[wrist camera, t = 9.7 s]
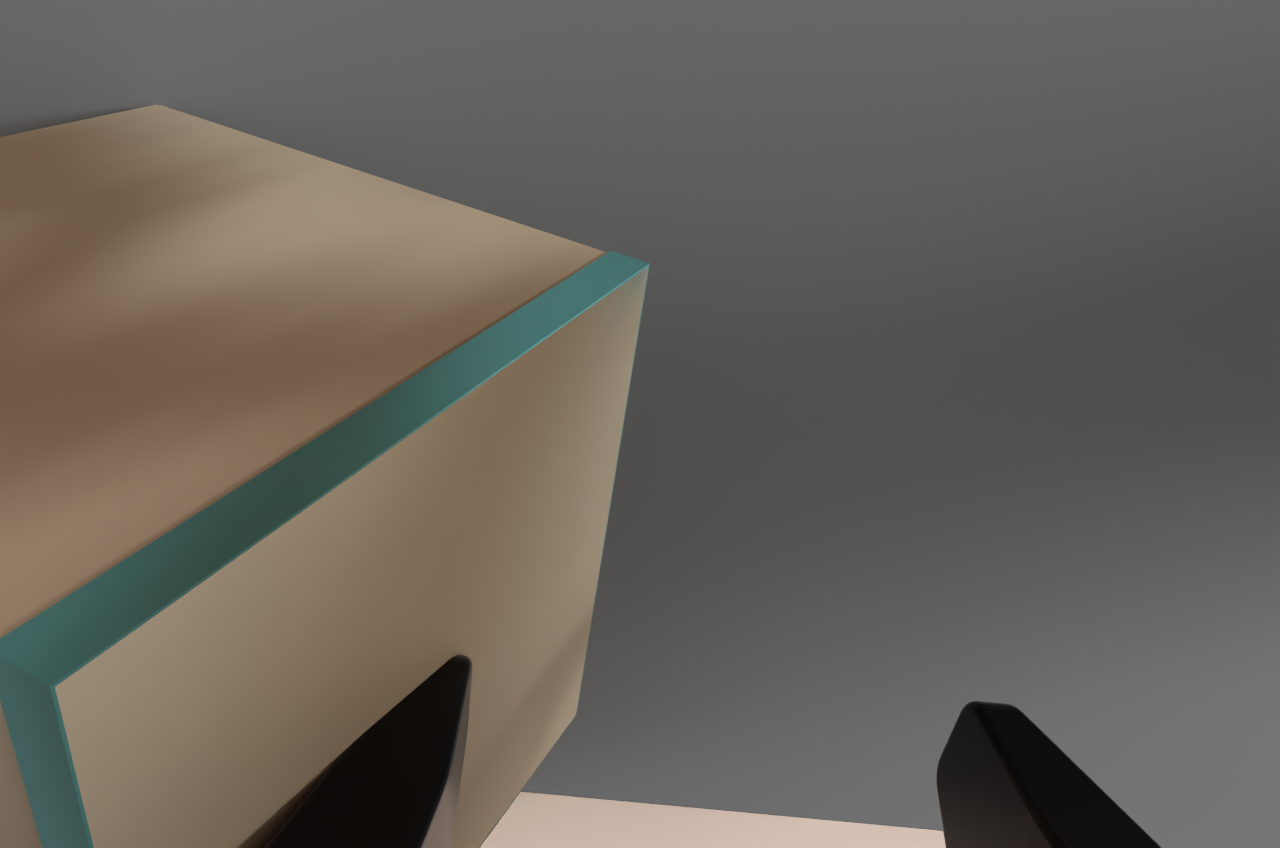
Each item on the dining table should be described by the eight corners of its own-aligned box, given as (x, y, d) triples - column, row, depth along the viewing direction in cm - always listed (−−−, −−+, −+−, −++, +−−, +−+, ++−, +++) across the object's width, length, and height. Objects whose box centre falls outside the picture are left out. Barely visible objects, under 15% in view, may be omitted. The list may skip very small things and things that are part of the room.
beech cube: (49, 686, 4) (-654, 270, 6) (189, 1246, 7) (-298, 865, 9) (649, 263, 9) (159, 101, 11) (576, 714, 12) (207, 532, 14)
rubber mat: (1978, 85, 11) (2020, 94, 11) (1333, 848, 18) (1346, 868, 18) (-775, -371, 9) (-831, -377, 9) (-254, 698, 16) (-274, 717, 16)
